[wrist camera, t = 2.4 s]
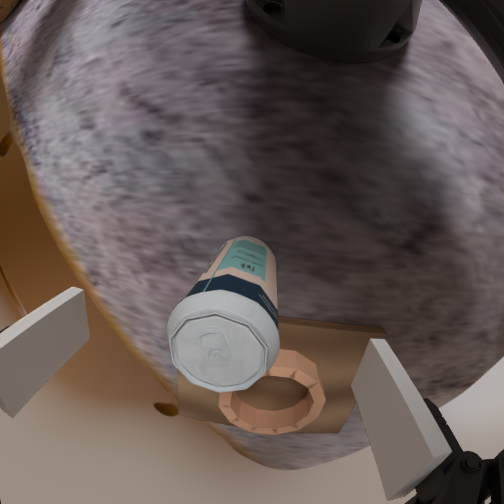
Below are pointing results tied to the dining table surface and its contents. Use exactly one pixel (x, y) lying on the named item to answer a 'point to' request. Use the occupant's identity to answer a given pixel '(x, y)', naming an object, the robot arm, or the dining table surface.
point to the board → (287, 389)
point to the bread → (7, 8)
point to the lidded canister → (228, 319)
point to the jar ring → (284, 419)
